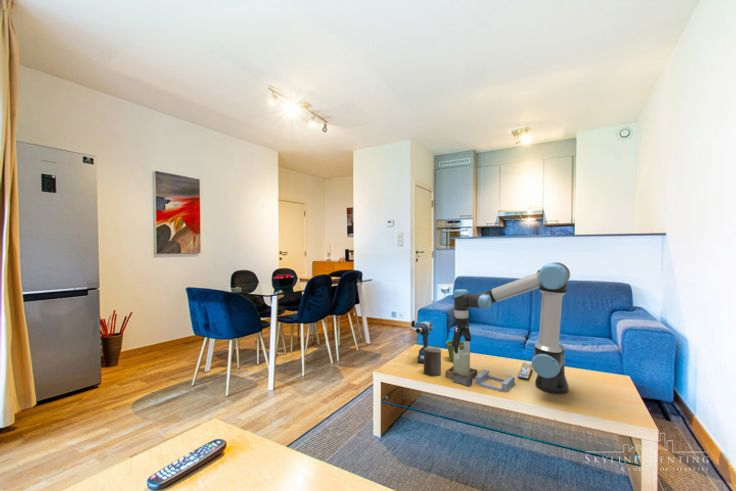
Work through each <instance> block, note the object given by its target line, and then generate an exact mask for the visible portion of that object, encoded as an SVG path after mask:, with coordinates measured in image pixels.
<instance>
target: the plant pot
mask: <svg viewBox="0 0 736 491" xmlns="http://www.w3.org/2000/svg"><path fill="white" fill-rule="evenodd" d="M452 342H453V340H447V341H446V342H445V344H446V347H447V351H448V358H449V361H450V362H452V363H453V351H454V347H453V346H452ZM464 349H465V344H464V341H461V340H460V343H459V350H464Z"/></svg>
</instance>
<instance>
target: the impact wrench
mask: <svg viewBox="0 0 736 491" xmlns="http://www.w3.org/2000/svg"><path fill="white" fill-rule="evenodd" d="M433 328H434V324H433V322H432V321H431V320H425V321H421V322H420V323H418V325H417V328H415V333H417V334H418V335H419V334H420V336H422V347H421V348H420V349H419V350H418V355H417V363H422V364H424V348H426V347H429V335H430V334H431V332H432V330H433Z"/></svg>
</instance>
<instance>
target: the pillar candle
mask: <svg viewBox="0 0 736 491" xmlns="http://www.w3.org/2000/svg"><path fill="white" fill-rule="evenodd" d="M423 374H424V375H426V376H429V377H439V376H440V375H442V349H441V348H439V347H434V346H428V347H426V348H424V363H423Z"/></svg>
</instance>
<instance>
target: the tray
mask: <svg viewBox="0 0 736 491" xmlns="http://www.w3.org/2000/svg"><path fill="white" fill-rule="evenodd" d="M455 374H456V375H460V376H464V377H469V376H470V377H472V379H473V380H474V379H475V376H477V375H478V369H477V368H471V367H470V374H469V375H467V376H466V375H462V374H458V373H454V372H453V365H452V366H451V367H449V368H448V369H446V370H445V378H447V379H450V380H453V376H454V375H455Z"/></svg>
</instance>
